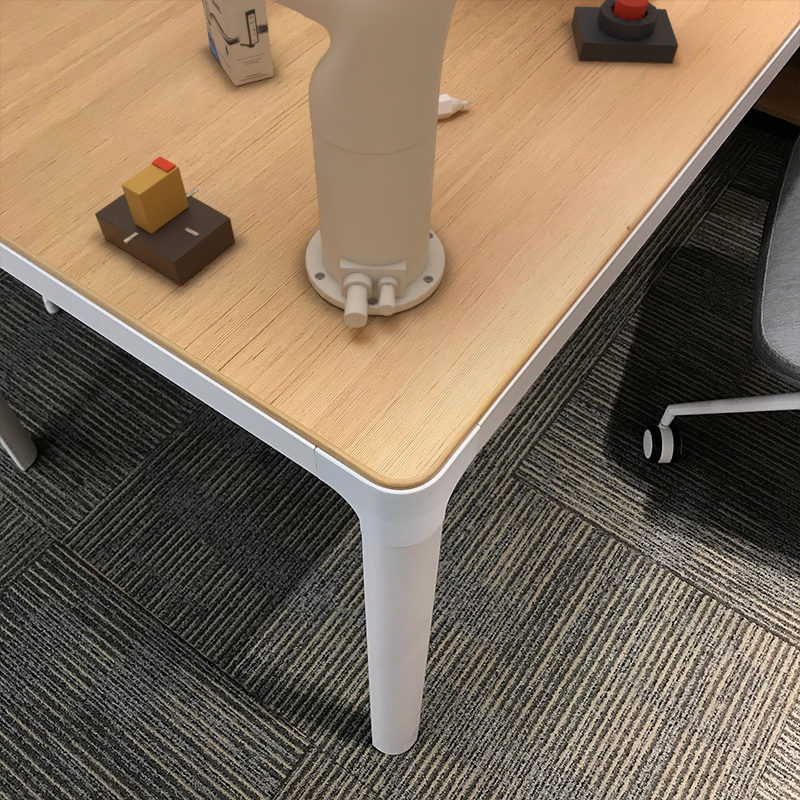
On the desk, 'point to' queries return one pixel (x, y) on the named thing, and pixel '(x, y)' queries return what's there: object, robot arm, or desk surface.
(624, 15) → the bell button
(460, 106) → the marker
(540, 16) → the desk surface
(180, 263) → the plate
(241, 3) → the ink box
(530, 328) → the desk surface
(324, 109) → the robot arm
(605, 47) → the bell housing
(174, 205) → the lock knob
